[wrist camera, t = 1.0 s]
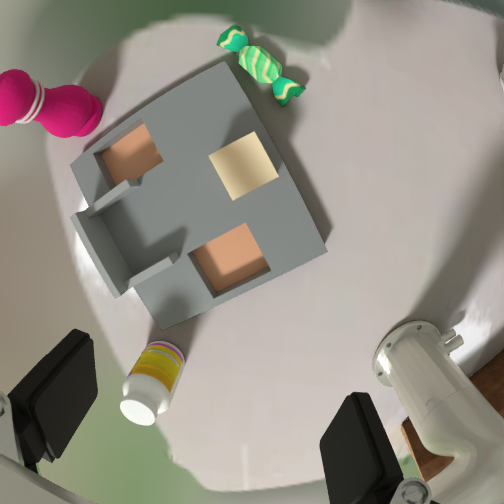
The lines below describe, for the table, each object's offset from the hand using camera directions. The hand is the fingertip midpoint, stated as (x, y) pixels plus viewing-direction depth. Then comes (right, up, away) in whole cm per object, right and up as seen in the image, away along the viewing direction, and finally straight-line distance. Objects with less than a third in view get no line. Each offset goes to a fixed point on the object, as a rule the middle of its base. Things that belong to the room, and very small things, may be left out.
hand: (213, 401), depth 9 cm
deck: (-6, +12, +26) cm, 29 cm away
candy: (+2, +28, +22) cm, 36 cm away
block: (+1, +15, +23) cm, 27 cm away
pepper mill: (-22, +24, +24) cm, 41 cm away
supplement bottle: (-12, -11, +33) cm, 36 cm away
